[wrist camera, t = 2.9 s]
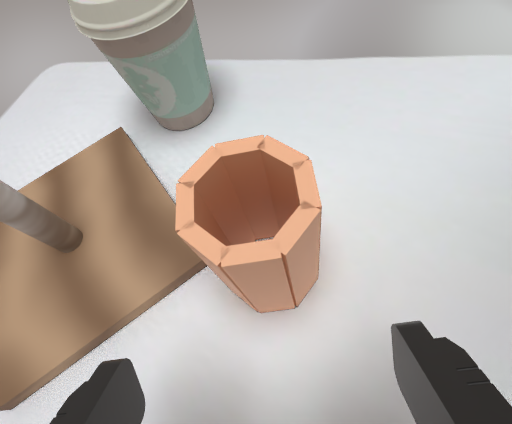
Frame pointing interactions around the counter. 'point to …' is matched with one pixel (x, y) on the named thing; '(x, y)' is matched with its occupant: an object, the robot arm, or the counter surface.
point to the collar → (254, 219)
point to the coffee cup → (153, 54)
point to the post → (82, 260)
